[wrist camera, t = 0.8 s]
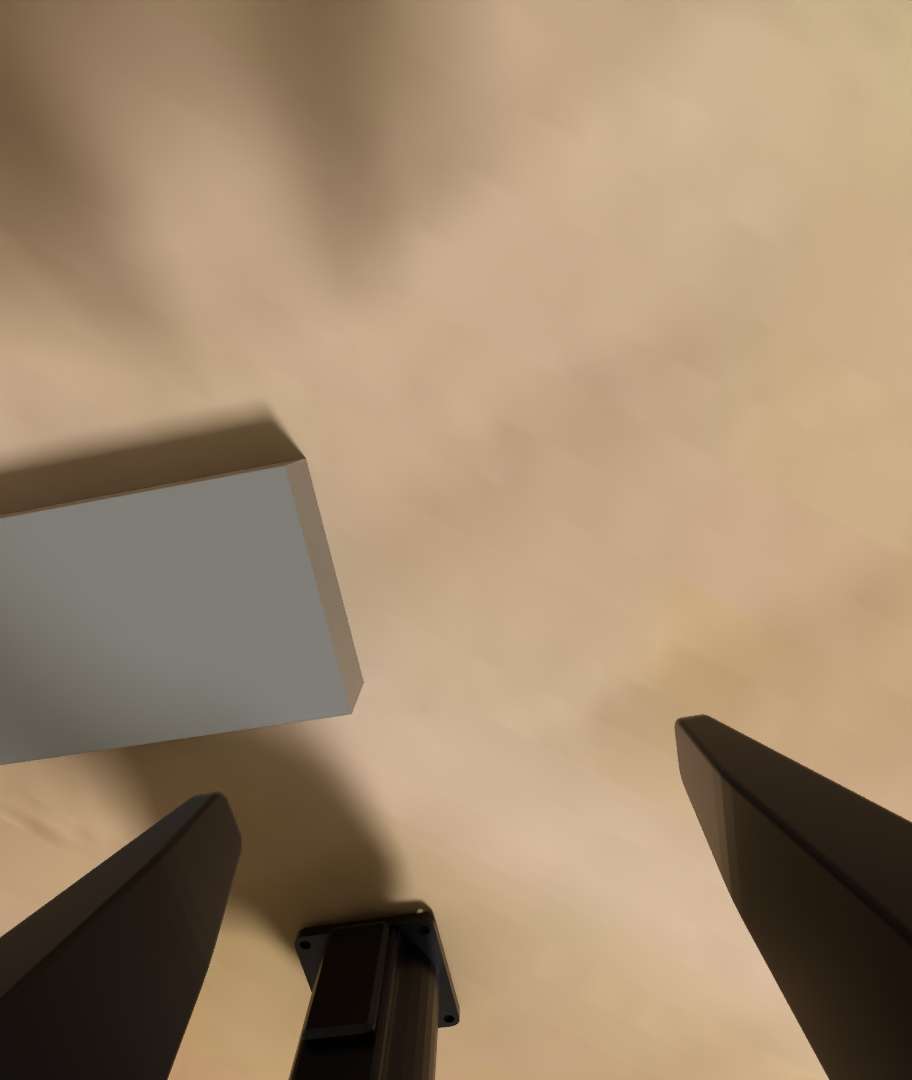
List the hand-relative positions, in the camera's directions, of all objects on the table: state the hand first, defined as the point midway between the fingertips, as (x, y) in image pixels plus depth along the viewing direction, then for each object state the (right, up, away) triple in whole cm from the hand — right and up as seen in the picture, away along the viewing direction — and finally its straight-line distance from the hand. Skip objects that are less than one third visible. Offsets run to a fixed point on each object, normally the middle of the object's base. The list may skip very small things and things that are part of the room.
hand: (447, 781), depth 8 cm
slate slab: (-12, +1, +13) cm, 18 cm away
